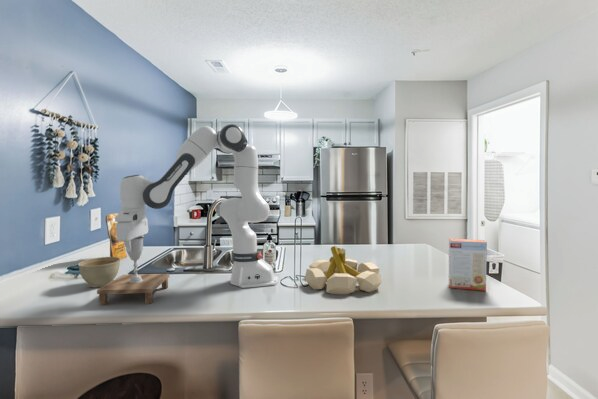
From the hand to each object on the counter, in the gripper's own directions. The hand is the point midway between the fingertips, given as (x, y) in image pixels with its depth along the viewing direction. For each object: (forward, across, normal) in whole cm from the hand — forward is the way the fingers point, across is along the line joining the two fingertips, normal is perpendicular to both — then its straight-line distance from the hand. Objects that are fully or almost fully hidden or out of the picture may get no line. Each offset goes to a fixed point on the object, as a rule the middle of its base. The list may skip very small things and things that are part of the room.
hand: (134, 248), depth 130 cm
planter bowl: (+20, -16, -23) cm, 34 cm away
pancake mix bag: (+20, -65, -40) cm, 79 cm away
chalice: (+14, 0, 0) cm, 14 cm away
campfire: (+20, -10, +88) cm, 91 cm away
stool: (+20, 0, 0) cm, 20 cm away
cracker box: (+20, +1, +140) cm, 141 cm away
